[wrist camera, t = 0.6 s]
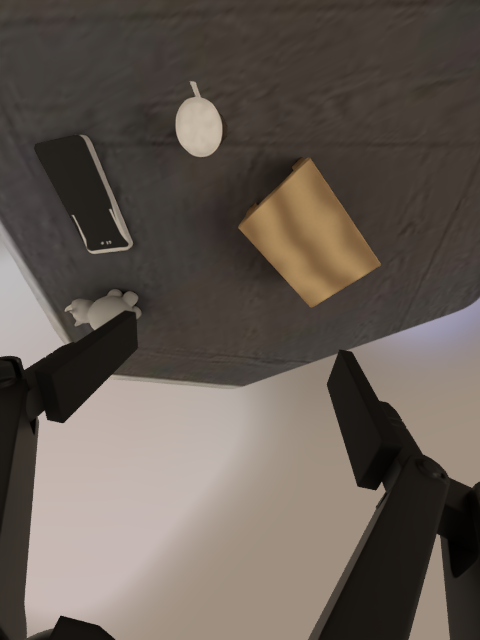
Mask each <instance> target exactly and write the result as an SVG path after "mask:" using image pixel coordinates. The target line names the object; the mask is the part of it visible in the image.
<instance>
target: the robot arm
mask: <svg viewBox="0 0 480 640" xmlns="http://www.w3.org/2000/svg"><path fill="white" fill-rule="evenodd" d="M137 348H138V342H137V320H136V312H132V311H127V310H124V311H123V312H121V313H120V314H118V315H117V316H115V317H114V318H112V319H111V320H109V321H108V322H106V323H105V324H103V325H102V326H100V327H99V328H97V329H96V330H94V331H93V332H91V333H90V334H88V335H87V336H85V337H84V338H82V339H81V340H79V341H78V342H76V343H74V342H72V343H69V344H67V345H64V346H62V347H60V348H58V349H57V350H55V351H54V352H53V353H51V354H49V355H48V356H46V358H43V359H41V360H40V361H38V362H36V363H35V364H33V365H32V366H30V367H29V368H27V369H25V370H24V369H23V365H22V362H21V359H20V358H18V357H15V356H4V357H0V640H115V639H114V638H113V637H112V636H111V635H109V634H108V633H107V632H106V631H105V630H104V629H102V628H101V627H100V626H98V625H95V624H91V623H87V622H83V621H79V620H76V619H72V618H68V617H64V616H60V618H59V619H58V621H57V624H56V625H55V627H54V629H49V630H46V631H43V632H40V633H37V634H35V635H33V636H31V637H29V638H27V628H26V616H25V608H24V607H25V606H24V598H25V585H26V573H27V560H28V548H29V536H30V525H31V524H30V523H31V512H32V501H33V489H34V477H35V464H36V452H37V438H38V428H39V420H38V416H39V415H40V414H41V413H42V412H43V411H44V410H45V413H46V416H47V420H50V421H55V422H59V423H64V422H65V421H66V420H67V419H68V418H69V417H70V416H71V415H72V414H73V413H74V412H75V411H76V410H77V409H78V408H79V407H80V406H81V405H82V404H83V403H84V402H85V401H86V400H87V399H88V398H89V397H90V396H91V395H92V394H93V393H94V392H95V391H96V390H97V389H98V388H99V387H100V386H101V385H102V384H103V383H104V382H105V381H106V380H107V379H108V378H109V377H110V376H111V375H112V374H113V373H114V372H115V371H116V370H117V369H118V368H119V367H120V366H121V365H122V364H123V363H124V362H125V361H126V360H127V359H128V358H129V357H130V356H131V355H132V354H133V353H134V352H135V351H136V350H137ZM327 387H328V390H329V394H330V397H331V400H332V403H333V407H334V410H335V413H336V417H337V420H338V423H339V427H340V430H341V433H342V436H343V440H344V443H345V446H346V450H347V453H348V456H349V460H350V463H351V466H352V469H353V473H354V476H355V479H356V483H357V486H358V487H362V488H367V489H372V490H377V488H378V487H379V485H380V483H381V482H382V483H383V485H384V488H385V490H386V492H385V494H384V495H383V497H382V498H381V500H380V501H379V503H378V505H377V506H376V510H375V512H374V515H373V516H372V518H371V520H370V522H369V524H368V526H367V528H366V530H365V531H364V533H363V535H362V537H361V539H360V541H359V543H358V545H357V547H356V549H355V551H354V553H353V555H352V557H351V559H350V560H349V562H348V564H347V566H346V568H345V570H344V572H343V574H342V576H341V577H340V579H339V581H338V583H337V585H336V587H335V589H334V591H333V593H332V595H331V597H330V599H329V601H328V603H327V604H326V606H325V608H324V610H323V612H322V614H321V616H320V618H319V620H318V621H317V623H316V625H315V627H314V629H313V631H312V633H311V635H310V637H309V639H308V640H408V639H409V636H410V632H411V628H412V624H413V620H414V617H415V613H416V609H417V605H418V602H419V598H420V594H421V590H422V587H423V583H424V579H425V575H426V572H427V568H428V564H429V560H430V556H431V553H432V549H433V545H434V542H435V538H436V534H438V535H440V538H441V549H442V559H443V570H444V581H445V591H446V601H447V612H448V623H449V633H450V640H480V482H478V483H477V484H475V485H474V487H473V488H471V487H469V486H466V485H464V484H462V483H460V482H457V481H455V480H453V479H451V478H449V477H448V475H447V473H446V471H445V470H444V469H443V468H442V467H441V466H440V465H439V464H438V463H437V462H435V461H434V460H432V459H431V458H429V457H427V456H425V455H423V454H422V452H421V450H420V449H419V447H418V446H417V444H416V442H415V441H414V439H413V437H412V436H411V434H410V432H409V431H408V429H406V426H405V424H404V423H403V422H402V419H401V418H400V416H399V414H398V413H397V411H396V410H395V409H394V408H393V407H392V406H391V405H390V404H389V403H387V402H382V401H379V400H378V398H377V396H376V394H375V392H374V391H373V389H372V387H371V386H370V383H369V382H368V380H367V378H366V376H365V375H364V373H363V371H362V369H361V367H360V365H359V364H358V362H357V360H356V358H355V356H354V355H353V353H352V352H350V351H345V350H339V352H338V355H337V358H336V361H335V363H334V366H333V369H332V372H331V374H330V377H329V380H328V382H327Z"/></svg>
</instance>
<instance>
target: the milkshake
mask: <svg viewBox="0 0 480 640" xmlns="http://www.w3.org/2000/svg"><path fill="white" fill-rule="evenodd" d="M190 83H191V86H192V88H193V91H194V94H195V96H196V97H192V98H189V99H187V100H186V101H184V102H183V104H182V105H181V106H180V108H179V110H178V112H177V115H176V134H177V137H178V140H179V142H180V144H181V145H182V146H183V148H184V149H185V150H186V151H188V152H189V153H190V154H192V155H194V156H197V157H205V156H209V155H210V154H212V153H213V152H214V151H215V150H216V149H217V148H218V147H219V146H220V145H221V144H222V143H223V141H224V140H225V138H226V137H227V124H226V122H225V120H224V118H223V116H222V115H221V114H220V113H219V112H218V111H217V110H216V108H215V107H214V105H213V104H212V103H211V102H209V101H208V100H206V99H204V98H201V96H200V94H199V91H198V88H197V85H196V82H195V81H190Z"/></svg>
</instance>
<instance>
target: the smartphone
mask: <svg viewBox="0 0 480 640" xmlns="http://www.w3.org/2000/svg"><path fill="white" fill-rule="evenodd" d="M34 149H35V152H36V154H37V156H38V158H39V160H40V162H41V163H42V165H43V167H44V169H45V171H46V173H47V175H48V177H49V178H50V180H51V182H52V184H53V186H54V188H55V190H56V192H57V193H58V195H59V197H60V199H61V201H62V203H63V205H64V207H65V208H66V210H67V212H68V214H69V216H70V218H71V220H72V222H73V223H74V225H75V227H76V229H77V231H78V233H79V235H80V237H81V238H82V240H83V242H84V244H85V246H86V248H87V250H88V251H89V252H90V253H93V254H97V253H105V252H113V251H122V250H128V249H129V248H130V247H132V245H133V241H132V239H131V236H130V234H129V231H128V229H127V227H126V224H125V222H124V219H123V217H122V215H121V212H120V210H119V207H118V205H117V202H116V200H115V198H114V195H113V193H112V190H111V188H110V186H109V183H108V181H107V178H106V176H105V173H104V171H103V169H102V166H101V164H100V161H99V159H98V157H97V154H96V152H95V149H94V147H93V144H92V142H91V140H90V139H89V138H88V137H87V136H86V135H73V136H68V137H64V138H59V139H55V140H50V141H46V142H41V143H37V144H35V147H34Z"/></svg>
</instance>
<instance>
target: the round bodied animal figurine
mask: <svg viewBox="0 0 480 640" xmlns="http://www.w3.org/2000/svg"><path fill="white" fill-rule="evenodd" d="M137 301H138V296H137V294H135V293H134V292H131V291H128V292H126V293H125V294H124V295H123V293H122V292H121V291H120V290H118V289H112V290H111V291H110V292H109V293H108V294H107V296H105V297H102V298H100V299H98V300H96V301H95V302H93V301H91V300H84V299H76V300H74V301H73V302H72V304H71V305H69V306H68V307H67V308H66V309H65V312H66V311H68V310H71V311H70V313H73V317H74V318H75V319H76V323H75V325H74V326H78V325H80V324H82V323H90V324H91V326H92V328H93V329H94V330H96V329H97V328H99V327H100V326H102V325H103V324H105V323H106V322H108V321H109V320H111V319H112V318H114V317H115V316H117V315H118V314H120V313H121V312H123V311H124V310H127V311H132V312H136V319H138V318H139V317H140V316H141V310H140V309H139V308H138V307H136V306H134V305H135V304H136V303H137Z"/></svg>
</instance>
